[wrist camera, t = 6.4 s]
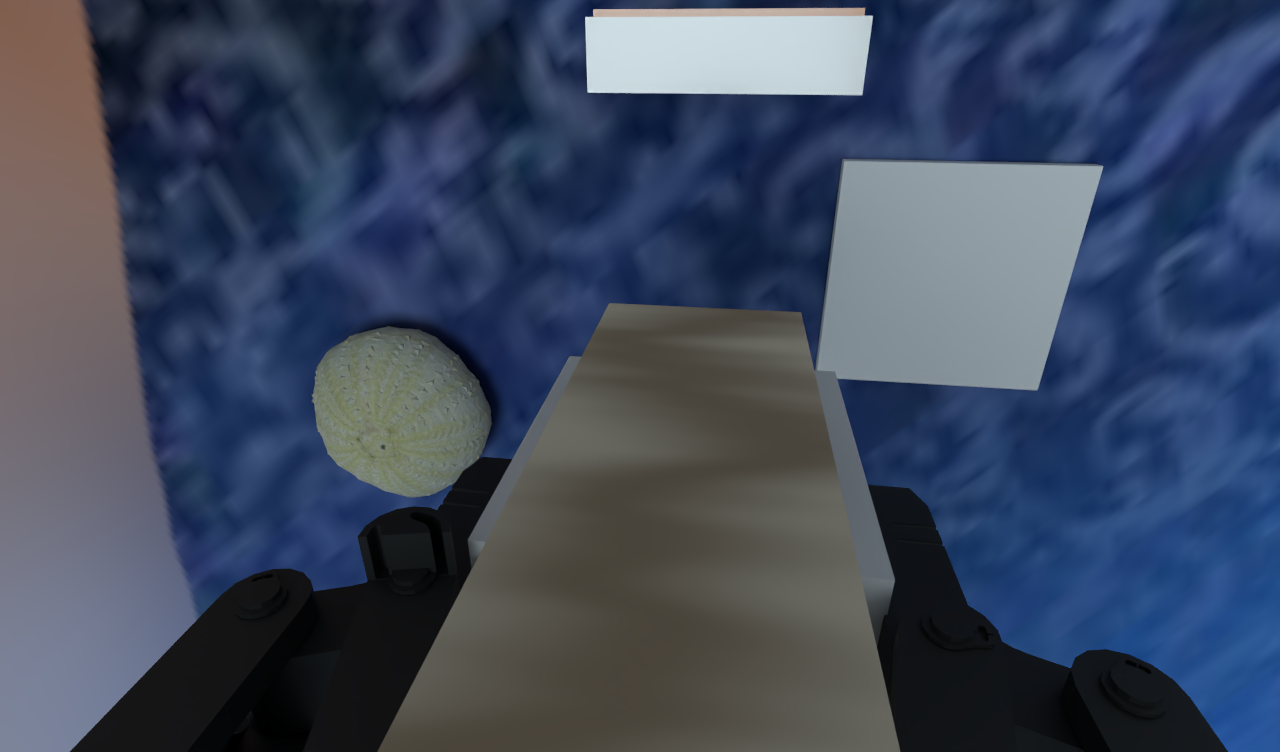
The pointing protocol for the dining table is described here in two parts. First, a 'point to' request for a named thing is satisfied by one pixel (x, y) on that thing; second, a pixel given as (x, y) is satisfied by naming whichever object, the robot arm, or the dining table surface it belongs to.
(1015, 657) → the robot arm
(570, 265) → the dining table surface
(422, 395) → the sea urchin shell
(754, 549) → the beige rectangular block
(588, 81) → the tile
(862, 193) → the mat
